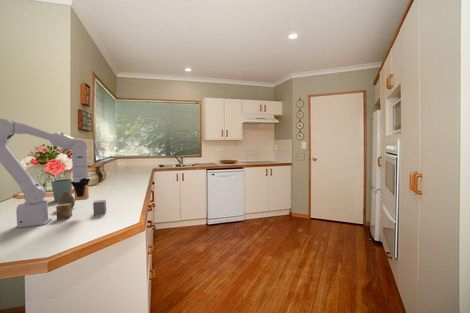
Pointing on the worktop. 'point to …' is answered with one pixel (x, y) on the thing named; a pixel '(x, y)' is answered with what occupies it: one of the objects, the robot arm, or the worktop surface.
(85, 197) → the terracotta block
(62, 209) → the walnut block
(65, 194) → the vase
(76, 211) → the worktop surface
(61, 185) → the teal plant pot
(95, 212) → the charcoal block
